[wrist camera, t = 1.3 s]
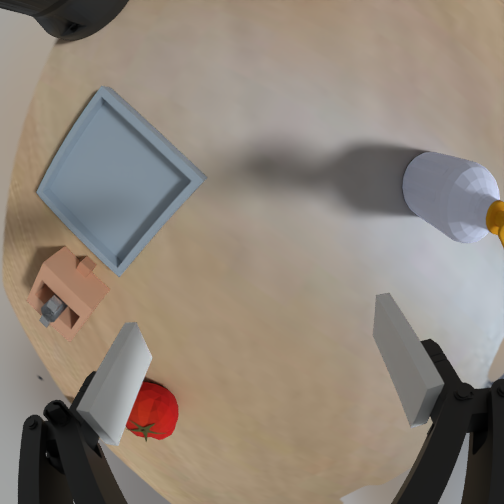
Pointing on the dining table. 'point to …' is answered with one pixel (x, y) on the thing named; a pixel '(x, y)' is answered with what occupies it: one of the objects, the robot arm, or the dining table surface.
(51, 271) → the ring frame
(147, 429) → the tomato
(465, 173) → the soap bottle
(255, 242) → the dining table surface
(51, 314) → the grey t-shaped piece
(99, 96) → the tray
